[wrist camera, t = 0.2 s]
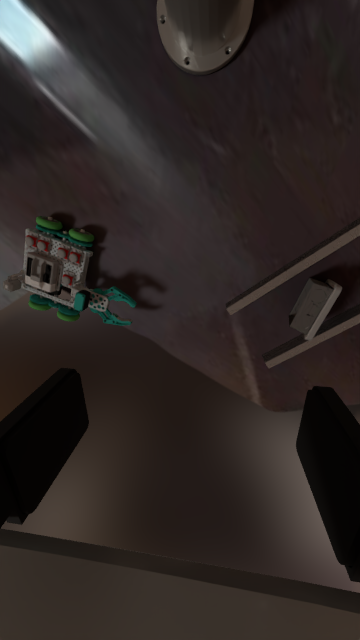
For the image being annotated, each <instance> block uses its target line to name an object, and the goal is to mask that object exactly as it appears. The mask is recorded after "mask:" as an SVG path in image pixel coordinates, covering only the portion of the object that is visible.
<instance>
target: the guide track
mask: <svg viewBox="0 0 360 640" xmlns="http://www.w3.org/2000/svg"><path fill="white" fill-rule="evenodd" d="M358 236H360V218H359V219H357V220H355V221H354V222H352V223H351V224H349V225H348V226H346V227H345V228H343V229H341V230H340V231H338V232H337V233H335V234H334V235H332V236H331V237H329V238H327V239H326V240H324V241H323V242H321V243H320V244H318V245H316V246H315V247H313V248H312V249H310V250H309V251H307V252H306V253H304V254H302V255H301V256H299V257H298V258H296V259H295V260H293V261H292V262H290V263H288V264H287V265H285V266H284V267H282V268H281V269H279V270H278V271H276V272H274V273H273V274H271V275H270V276H268V277H267V278H265V279H264V280H262V281H260V282H259V283H257V284H256V285H254V286H253V287H251V288H249V289H248V290H246V291H245V292H243V293H242V294H240V295H239V296H237V297H235V298H234V299H232V300H231V301H229V302H228V303H226V309H227V310H228V312H229V313H230V315H232V314H234V313H235V312H237V311H238V310H240V309H242V308H243V307H245V306H246V305H248V304H250V303H251V302H253V301H255V300H256V299H258V298H259V297H261V296H263V295H264V294H266V293H267V292H269V291H271V290H272V289H274V288H276V287H277V286H279V285H280V284H282V283H284V282H285V281H287V280H289V279H290V278H292V277H293V276H295V275H297V274H298V273H300V272H301V271H303V270H305V269H306V268H308V267H310V266H311V265H313V264H314V263H316V262H318V261H319V260H321V259H322V258H324V257H326V256H327V255H329V254H331V253H332V252H334V251H335V250H337V249H339V248H340V247H342V246H344V245H345V244H347V243H348V242H350V241H352V240H353V239H355V238H356V237H358ZM358 323H360V304H358V305H356V306H354V307H352V308H350V309H349V310H347V311H345V312H343V313H341V314H339V315H337V316H335V317H333V318H331V319H330V320H328V321H326V322H324V323H322V324H321V325H320V327H319V329H318V330H317V332H316V334H315V335H314V337H313V339H312V340H311V341H309V340H306V339H304V337H305V334H304V333H303V334H301V335H299V336H297V337H295V338H294V339H292V340H290V341H288V342H286V343H284V344H282V345H280V346H278V347H276V348H275V349H273V350H271V351H269V352H267V353H265V354H263V355H262V356H263V359H264V362H265V364H266V365H267V366H268V368H271V367H273V366H275V365H277V364H279V363H281V362H283V361H285V360H287V359H289V358H291V357H293V356H295V355H297V354H299V353H301V352H303V351H305V350H307V349H309V348H311V347H313V346H315V345H317V344H319V343H321V342H323V341H325V340H327V339H329V338H331V337H332V336H334V335H336V334H338V333H340V332H342V331H344V330H346V329H348V328H350V327H352V326H354V325H356V324H358Z"/></svg>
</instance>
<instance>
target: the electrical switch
mask: <svg viewBox="0 0 360 640" xmlns="http://www.w3.org/2000/svg"><path fill="white" fill-rule="evenodd" d="M305 290H306V291H305ZM341 290H342V287H341V286H340V285H338V284H337V283H335V282H334V281H332V280H329V279H328V280H326V282H325V283H324V282H321V281H318V280H315V279H311V278H309V280H308V282H307V283H306V285H305V287H304V289H303V291H302V293H301V295H300V296H299V298H298V300H297V302H296V304H295V306H294V308H293V309H292V311H291V313H290V316H289V327H291V328H294V329H297V330H298V331H300V332H302V333H304V334H305V337H304V339H306V340H309V341H311V340H312V339H313V337H314V335H315V334H316V332H317V330H318V329H319V327H320V325H321V324H322V322H323V320H324V319H325V317H326V316H327V314H328V312H329V311H330V309H331V307H332V306H333V304H334V302H335V301H336V299H337V297H338V296H339V294H340V292H341ZM295 308H296V309H295Z"/></svg>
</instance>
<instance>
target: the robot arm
mask: <svg viewBox="0 0 360 640" xmlns="http://www.w3.org/2000/svg"><path fill="white" fill-rule="evenodd" d="M253 7H254V0H157V22H158V29H159V33H160V37H161V40H162V43H163V46H164V48H165V51H166V52H167V54H168V56H169V57H170V59H171V60H172V61H173V62H174V63H175V64H176V66H178V67H179V68H180V69H182V70H183V71H185V72H188V73H190V74H194V75H206V74H210V73H213V72H216V71H218V70H219V69H221V68H222V67H224V66H225V65H226V64H227V63H228V62H230V61H231V60H232V59H233V57H234V56H235V55H236V53H237V52H238V51H239V49H240V48H241V46H242V44H243V42H244V40H245V38H246V35H247V33H248V30H249V27H250V23H251V18H252V14H253ZM163 23H164V24H163ZM226 53H229V54H228V55H226ZM187 63H189V65H186V64H187ZM88 424H89V420H88V414H87V409H86V404H85V399H84V393H83V388H82V384H81V377H80V374H79V373H77V371H76V370H75V369H68V368H61V369H59V370H58V371H57V372H56V373H54V374H53V375H52V376H51V377H50V378H49V379H48V380H46V381H45V382H44V383H43V384H42V385H41V386H40V387H39V388H38V389H36V390H35V391H34V392H33V393H32V394H31V395H30V396H29V397H27V398H26V399H25V400H24V401H23V402H22V403H21V404H20V405H19V406H17V407H16V408H15V409H14V410H13V411H12V412H11V413H10V414H9V415H7V416H6V417H5V418H4V419H3V420H2V421H1V422H0V640H360V593H356V592H351V591H347V590H342V589H336V588H332V587H327V586H322V585H317V584H312V583H307V582H302V581H297V580H291V579H286V578H281V577H275V576H270V575H264V574H259V573H253V572H247V571H242V570H237V569H231V568H225V567H220V566H215V565H209V564H204V563H198V562H192V561H187V560H181V559H176V558H170V557H164V556H158V555H152V554H147V553H141V552H136V551H130V550H124V549H118V548H112V547H107V546H101V545H95V544H89V543H84V542H77V541H72V540H66V539H60V538H54V537H48V536H41V535H36V534H30V533H24V532H18V531H12V530H5V529H1V527H2V525H3V524H4V522H5V521H6V520H7V522H9V523H15V524H21V525H22V524H23V522H24V521H25V519H26V518H27V516H28V515H29V514H30V513H32V512H33V511H34V510H35V509H36V508H37V506H38V505H39V503H40V502H41V500H42V499H43V497H44V496H45V494H46V492H47V491H48V489H49V488H50V486H51V485H52V483H53V481H54V480H55V478H56V477H57V475H58V474H59V472H60V471H61V469H62V467H63V466H64V464H65V463H66V461H67V459H68V458H69V457H70V455H71V453H72V452H73V450H74V449H75V447H76V446H77V444H78V443H79V441H80V439H81V438H82V436H83V434H84V433H85V432H86V430H87V428H88ZM296 449H297V452H298V456H299V458H300V461H301V464H302V466H303V469H304V472H305V474H306V477H307V480H308V483H309V485H310V488H311V491H312V493H313V496H314V499H315V501H316V504H317V507H318V510H319V512H320V515H321V517H322V520H323V523H324V526H325V528H326V531H327V534H328V536H329V539H330V542H331V545H332V547H333V550H334V553H335V555H336V558H337V560H338V562H339V563H340V564H341V565H345V567H346V570H347V573H348V575H349V578H350V580H351V581H355V582H360V424H359V423H358V422H357V420H356V419H355V417H354V416H353V415H352V413H351V412H350V411H349V409H348V408H347V407H346V405H345V404H344V403H343V401H342V400H341V399H340V397H339V396H338V395H337V393H336V392H335V391H334V389H333V388H331V387H320V386H314V387H313V388H312V390H308V392H307V396H306V400H305V405H304V409H303V414H302V418H301V423H300V427H299V432H298V436H297V441H296Z"/></svg>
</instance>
